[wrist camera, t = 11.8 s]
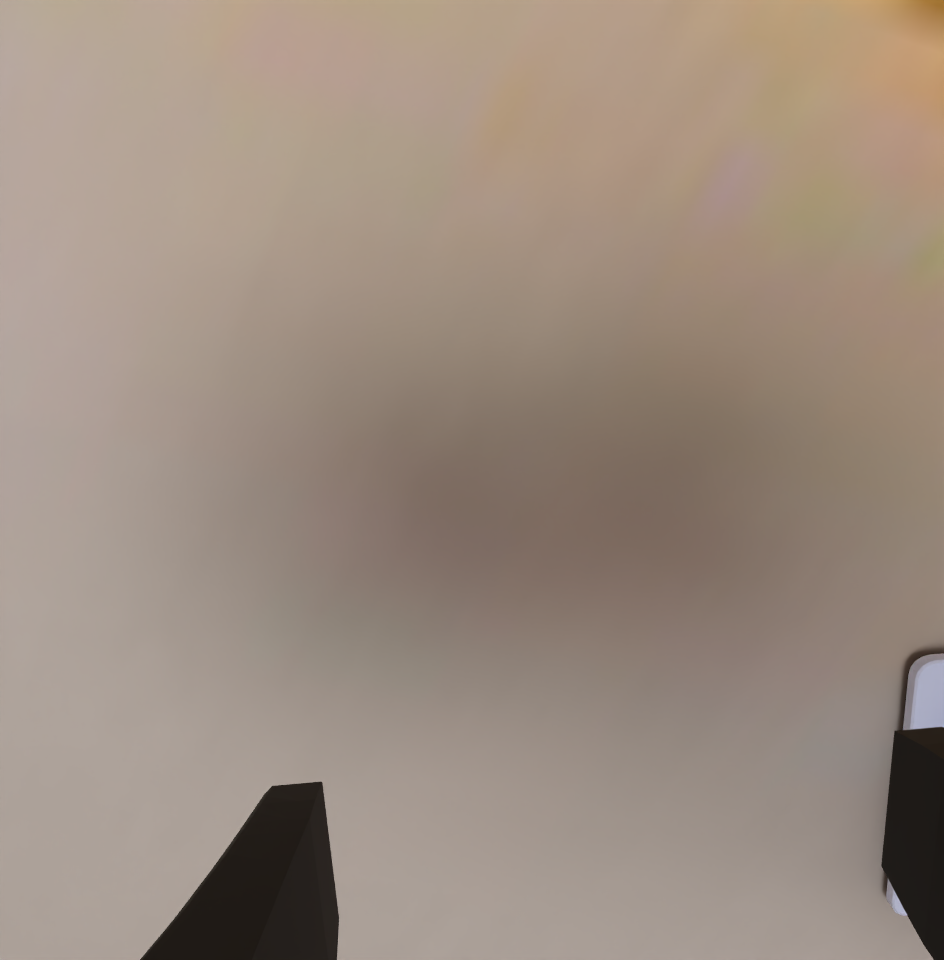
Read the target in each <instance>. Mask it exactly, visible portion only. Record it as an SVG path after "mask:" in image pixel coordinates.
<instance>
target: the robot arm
mask: <svg viewBox="0 0 944 960" xmlns="http://www.w3.org/2000/svg"><path fill="white" fill-rule="evenodd" d="M882 868H883V870H884V872H885V874H886V875H887V877H888V883H887V893H886V896H887V901H888V902H889V904H890V905H891V907H892V908H893V909H894V911H895V912H896V913H898V914H900V915H904V916H908V917H909V919H910V921H911V923H912V924H913V926H914V928H915V930H916V932H917V933H918V935H919V937H920V939H921V941H922V942H923V944H924V946H925V947H926V949H927V950H928V952H929V953H930V955H931V956H932V957H933V959H934V960H944V653H942V654H930V655H926V656H922V657H920V658H919V659H917V660H916V661H915V662H914V663H913V665H912V666H911V668H910V671H909V675H908V685H907V695H906V705H905V715H904V724H903V730H899V731H895V733H894V743H893V753H892V763H891V774H890V784H889V794H888V804H887V814H886V825H885V835H884V845H883V855H882ZM338 926H339V915H338V907H337V898H336V890H335V882H334V874H333V866H332V858H331V850H330V842H329V834H328V826H327V817H326V809H325V801H324V793H323V785H322V782H313V783H301V784H290V785H279V786H272V787H271V788H270V789H269V790H268V791H267V792H266V793H265V794H264V796H263V797H262V799H261V800H260V802H259V803H258V804H257V806H256V807H255V809H254V810H253V812H252V813H251V815H250V816H249V818H248V819H247V821H246V822H245V824H244V825H243V826H242V828H241V829H240V831H239V832H238V834H237V835H236V837H235V838H234V839H233V841H232V842H231V844H230V845H229V846H228V848H227V849H226V851H225V852H224V853H223V855H222V856H221V858H220V859H219V860H218V862H217V863H216V865H215V866H214V867H213V869H212V870H211V871H210V873H209V874H208V875H207V877H206V878H205V879H204V881H203V882H202V883H201V884H200V886H199V887H198V888H197V890H196V891H195V892H194V894H193V895H192V896H191V898H190V899H189V900H188V902H187V903H186V904H185V906H184V907H183V908H182V910H181V911H180V912H179V913H178V915H177V916H176V917H175V918H174V920H173V921H172V922H171V923H170V925H169V926H168V927H167V928H166V930H165V931H164V932H163V933H162V934H161V936H160V937H159V938H158V939H157V940H156V941H155V943H154V944H153V945H152V946H151V947H150V949H149V950H148V951H147V952H146V953H145V955H144V956H143V957H142V958H141V959H140V960H337V946H338Z"/></svg>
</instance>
